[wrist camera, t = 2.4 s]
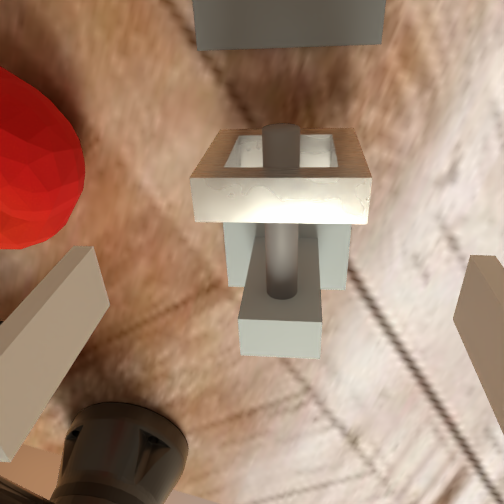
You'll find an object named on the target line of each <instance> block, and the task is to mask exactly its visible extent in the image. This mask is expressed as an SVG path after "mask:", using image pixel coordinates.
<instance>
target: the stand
mask: <svg viewBox="0 0 504 504" xmlns="http://www.w3.org/2000/svg"><path fill="white" fill-rule="evenodd" d="M262 152H263V167H300V127H299V126H297V125H294V124H285V123H281V124H271V125H267V126H264V127H263V128H262ZM351 225H352V224H319V223H239V222H223V228H224V240H225V251H226V262H227V274H228V285H229V286H230V287H244V292H243V296H242V301H241V306H240V311H239V316H238V328H239V341H240V353H241V355H246V356H266V357H287V358H307V359H320V352H321V335H322V308H321V289H328V290H345V289H346V278H347V268H348V257H349V246H350V235H351Z"/></svg>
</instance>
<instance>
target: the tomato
mask: <svg viewBox="0 0 504 504" xmlns="http://www.w3.org/2000/svg"><path fill="white" fill-rule="evenodd" d="M84 178H85V162H84V157H83V152H82V148H81V144H80V140H79V138H78V136H77V134H76V133H75V131H74V129H73V127H72V125H71V123H70V122H69V121H68V120H67V119H66V118H65V116H64V115H63V114H62V113H61V112H60V111H59V110H58V109H57V107H56V106H55V105H54V104H53V103H52V102H51V101H50V100H49V99H48V98H47V97H46V96H44V95H43V94H42V93H41V92H40V91H38V90H37V89H36V88H35V87H33V86H31V85H30V84H28V83H26V82H25V81H23V80H22V79H20V78H18V77H17V76H15V75H14V74H12V73H10V72H9V71H7V70H6V69H4V68H2V67H0V249H23V248H26V247H29V246H32V245H35V244H38V243H41V242H44V241H46V240H48V239H49V238H51V237H52V236H54V235H55V234H56V233H57V232H58V231H59V230H61V229H62V228H63V227H64V226H65V225H66V223H67V221H68V219H69V217H70V215H71V213H72V211H73V209H74V207H75V205H76V203H77V201H78V199H79V197H80V195H81V193H82V191H83V186H84Z"/></svg>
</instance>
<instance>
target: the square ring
mask: <svg viewBox="0 0 504 504" xmlns="http://www.w3.org/2000/svg"><path fill="white" fill-rule="evenodd" d="M190 185H191V193H192V201H193V209H194V216H195V222H239V223H319V224H367V220H368V211H369V203H370V194H371V185H372V176H371V173H370V170H369V168H368V165H367V162H366V159H365V157H364V154H363V151H362V149H361V146H360V143H359V140H358V138H357V135H356V132H355V130H354V128H300V167H263V152H262V129H223V130H220V131H219V132H218V134H217V136H216V137H215V139H214V140H213V142H212V143H211V145H210V147H209V148H208V150H207V151H206V153H205V154H204V156H203V158H202V159H201V161H200V162H199V164H198V165H197V167H196V169H195V170H194V172H193V173H192V175H191V176H190Z"/></svg>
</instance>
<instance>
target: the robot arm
mask: <svg viewBox="0 0 504 504" xmlns="http://www.w3.org/2000/svg"><path fill="white" fill-rule="evenodd" d="M109 306H110V303H109V299H108V296H107V292H106V289H105V285H104V282H103V278H102V275H101V271H100V268H99V264H98V261H97V257H96V254H95V250H94V247H93V246H73V247H72V248H71V249H70V250H69V252H68V253H67V254H66V255H65V256H64V257H63V258H62V259H61V260H60V261H59V262H58V263H57V265H56V266H55V267H54V268H53V269H52V270H51V271H50V272H49V273H48V274H47V275H46V276H45V278H44V279H43V280H42V281H41V282H40V283H39V284H38V285H37V286H36V287H35V288H34V289H33V291H32V292H31V293H30V294H29V295H28V296H27V297H26V298H25V299H24V300H23V301H22V302H21V304H20V305H19V306H18V307H17V308H16V309H15V310H14V311H13V312H12V313H11V314H10V315H9V317H8V318H7V319H6V320H5V321H0V461H1V462H11V461H12V459H13V458H14V456H15V454H16V453H17V451H18V450H19V448H20V447H21V445H22V443H23V442H24V440H25V439H26V437H27V436H28V434H29V432H30V431H31V429H32V428H33V426H34V424H35V423H36V421H37V420H38V418H39V417H40V415H41V413H42V412H43V410H44V409H45V407H46V405H47V404H48V402H49V401H50V399H51V398H52V396H53V394H54V393H55V391H56V390H57V388H58V387H59V385H60V383H61V382H62V380H63V379H64V377H65V375H66V374H67V372H68V371H69V369H70V368H71V366H72V364H73V363H74V361H75V360H76V358H77V357H78V355H79V353H80V352H81V350H82V349H83V347H84V345H85V344H86V342H87V341H88V339H89V338H90V336H91V334H92V333H93V331H94V330H95V328H96V326H97V325H98V323H99V322H100V320H101V319H102V317H103V315H104V314H105V312H106V311H107V309H108V308H109ZM453 321H454V323H455V325H456V328H457V330H458V332H459V334H460V337H461V339H462V341H463V343H464V346H465V348H466V350H467V352H468V355H469V357H470V359H471V362H472V364H473V366H474V368H475V371H476V373H477V375H478V377H479V380H480V382H481V384H482V387H483V389H484V391H485V393H486V396H487V398H488V400H489V402H490V405H491V407H492V409H493V411H494V414H495V416H496V418H497V421H498V423H499V425H500V427H501V430H502V432H503V434H504V268H503V266H502V265H501V263H500V262H499V261H498V259H497V258H496V256H483V255H470V259H469V262H468V266H467V270H466V273H465V277H464V280H463V284H462V288H461V291H460V295H459V299H458V302H457V306H456V309H455V313H454V317H453ZM187 455H188V446H187V442H186V440H185V438H184V436H183V435H182V433H181V432H180V431H179V430H178V429H177V427H176V426H174V425H173V424H172V423H171V422H170V421H168V420H167V419H165V418H164V417H162V416H160V415H159V414H157V413H155V412H152V411H150V410H148V409H145V408H142V407H139V406H135V405H130V404H125V403H101V404H96V405H92V406H90V407H87V408H85V409H84V410H82V411H81V412H80V413H79V414H78V415H77V416H76V417H75V419H74V421H73V423H72V425H71V427H70V428H69V430H68V432H67V435H66V437H65V442H64V448H63V453H62V459H61V465H60V470H59V475H58V481H57V485H56V488H55V490H54V492H53V494H52V496H51V498H50V500H47V499H45V498H43V497H41V496H39V495H37V494H35V493H33V492H31V491H29V490H27V489H25V488H23V487H22V486H20V485H18V484H15V483H14V482H12V481H10V480H8V479H6V478H4V477H2V476H0V504H164V503H165V501H166V500H167V498H168V496H169V495H170V493H171V492H172V490H173V488H174V487H175V485H176V484H177V482H178V480H179V479H180V477H181V475H182V473H183V471H184V467H185V463H186V459H187Z"/></svg>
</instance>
